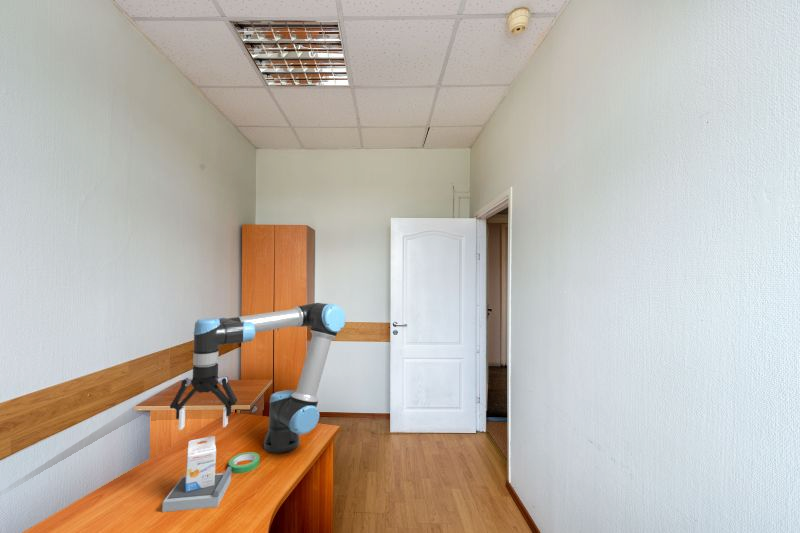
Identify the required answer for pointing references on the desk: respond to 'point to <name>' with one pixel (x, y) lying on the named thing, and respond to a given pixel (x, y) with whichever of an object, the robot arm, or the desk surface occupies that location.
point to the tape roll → (246, 467)
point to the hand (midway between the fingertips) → (203, 426)
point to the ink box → (200, 464)
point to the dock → (197, 494)
